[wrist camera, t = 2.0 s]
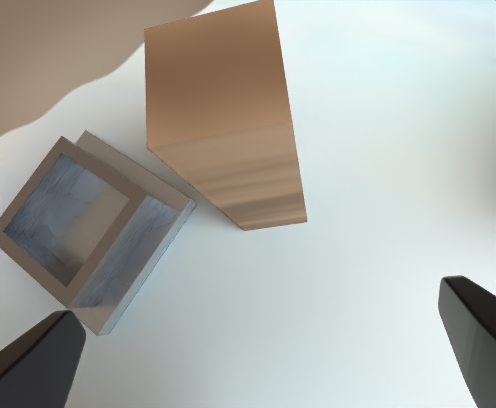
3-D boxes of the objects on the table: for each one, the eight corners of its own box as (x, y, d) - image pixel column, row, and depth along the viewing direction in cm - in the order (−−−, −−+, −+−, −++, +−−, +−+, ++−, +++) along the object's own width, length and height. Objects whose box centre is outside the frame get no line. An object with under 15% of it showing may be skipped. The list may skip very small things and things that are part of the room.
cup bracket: (108, 333, 22) (68, 341, 18) (13, 249, 25) (-37, 241, 21) (197, 203, 23) (175, 187, 19) (95, 137, 26) (60, 112, 22)
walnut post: (307, 221, 21) (292, 120, 9) (244, 230, 22) (146, 148, 9) (298, 162, 22) (272, -4, 10) (238, 172, 23) (144, 29, 10)
